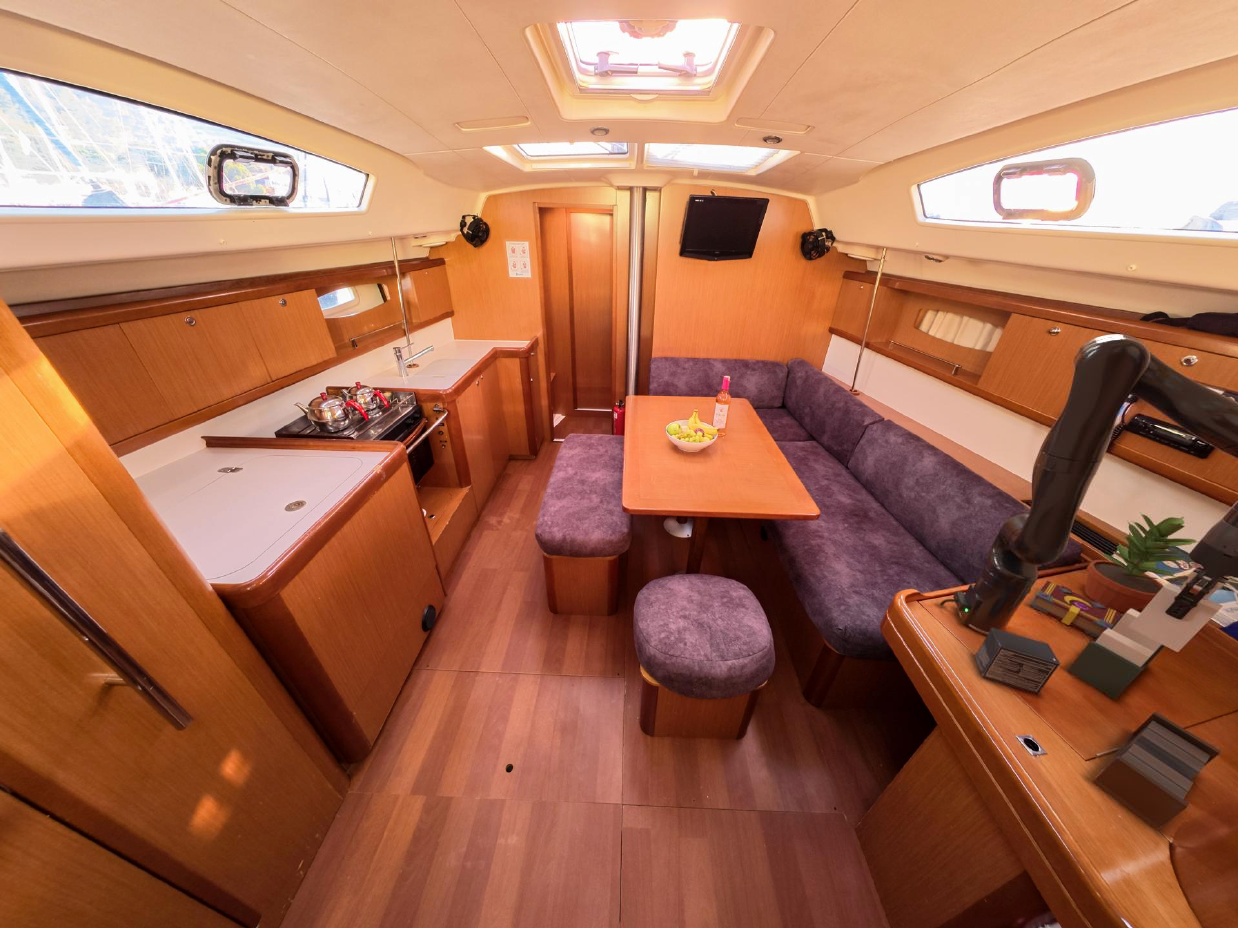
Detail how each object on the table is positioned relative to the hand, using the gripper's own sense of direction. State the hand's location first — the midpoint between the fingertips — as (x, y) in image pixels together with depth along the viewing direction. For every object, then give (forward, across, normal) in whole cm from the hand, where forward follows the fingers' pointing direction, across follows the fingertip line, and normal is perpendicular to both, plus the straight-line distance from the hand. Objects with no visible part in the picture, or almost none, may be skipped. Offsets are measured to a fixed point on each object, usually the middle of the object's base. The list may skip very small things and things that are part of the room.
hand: (1176, 612), depth 82 cm
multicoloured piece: (+23, -5, -2) cm, 24 cm away
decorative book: (+23, -19, -13) cm, 33 cm away
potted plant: (+23, -38, -12) cm, 46 cm away
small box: (+23, +20, -12) cm, 33 cm away
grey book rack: (+23, +22, +11) cm, 34 cm away
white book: (+7, 0, 0) cm, 7 cm away
